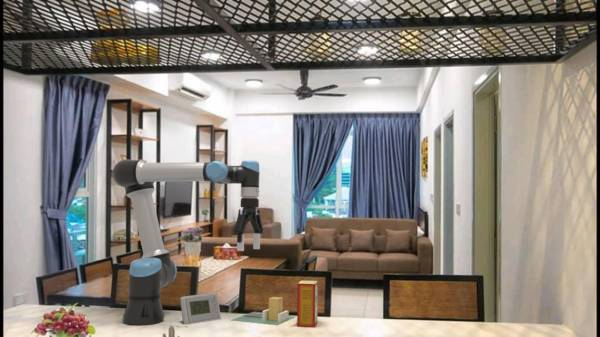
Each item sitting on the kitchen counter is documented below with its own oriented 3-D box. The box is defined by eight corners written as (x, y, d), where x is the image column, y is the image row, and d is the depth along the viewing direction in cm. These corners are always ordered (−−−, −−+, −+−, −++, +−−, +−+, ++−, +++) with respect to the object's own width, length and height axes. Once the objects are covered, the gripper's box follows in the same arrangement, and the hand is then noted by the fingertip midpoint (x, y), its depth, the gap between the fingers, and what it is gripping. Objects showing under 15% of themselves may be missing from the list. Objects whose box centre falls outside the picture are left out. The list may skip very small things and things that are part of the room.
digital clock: (182, 328, 174) (183, 298, 175) (175, 323, 182) (176, 294, 183) (224, 323, 182) (225, 295, 184) (216, 319, 190) (216, 291, 191)
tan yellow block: (268, 319, 184) (268, 297, 184) (273, 317, 187) (273, 296, 188) (278, 320, 182) (278, 298, 183) (282, 318, 186) (282, 296, 187)
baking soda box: (300, 321, 188) (301, 279, 189) (317, 322, 187) (317, 279, 189) (297, 326, 178) (297, 282, 180) (314, 327, 178) (314, 283, 179)
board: (229, 323, 183) (230, 310, 183) (251, 315, 198) (251, 303, 199) (277, 328, 175) (277, 315, 175) (296, 319, 190) (296, 307, 191)
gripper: (242, 196, 187) (241, 252, 185) (271, 199, 210) (270, 248, 208) (225, 196, 190) (224, 251, 188) (256, 199, 213) (255, 248, 211)
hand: (248, 250), depth 198 cm, fingers open, 13 cm apart
